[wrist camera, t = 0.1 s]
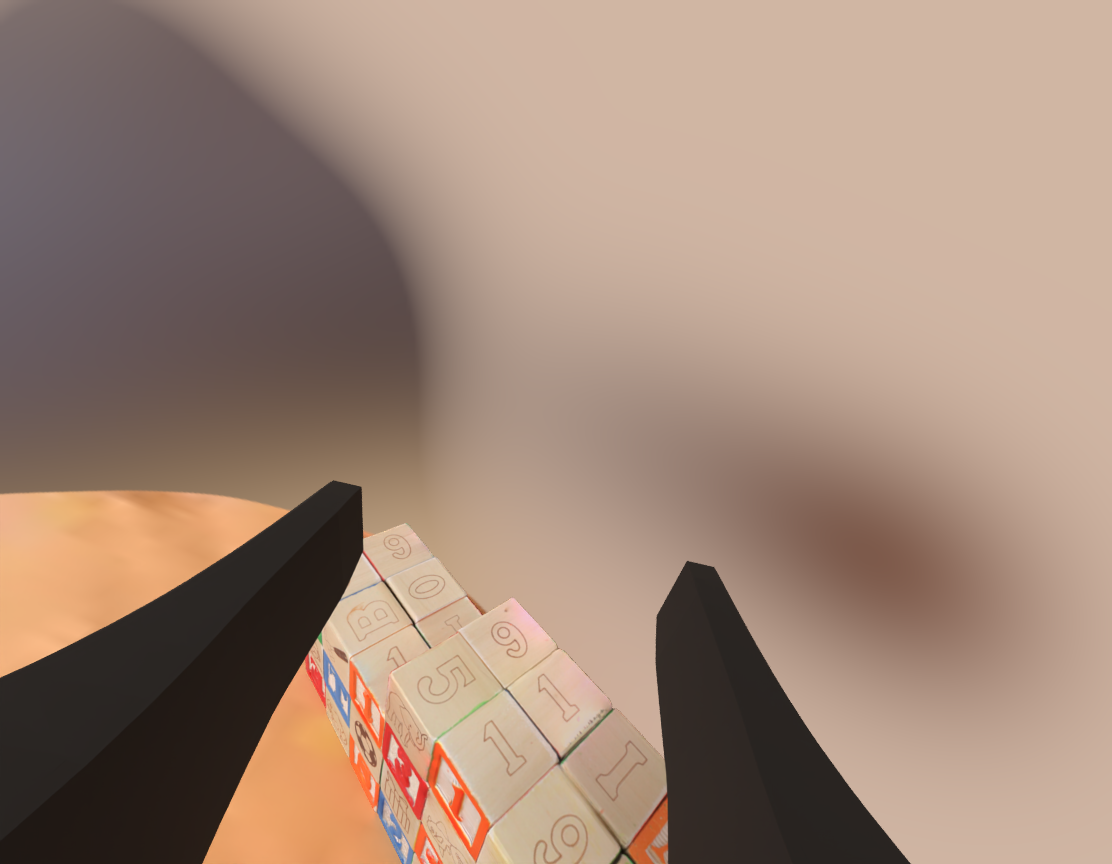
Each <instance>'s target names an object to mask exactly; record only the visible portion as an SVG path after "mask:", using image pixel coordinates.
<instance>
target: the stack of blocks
mask: <svg viewBox="0 0 1112 864" xmlns="http://www.w3.org/2000/svg"><path fill="white" fill-rule="evenodd" d="M363 548H364V550H363V553H362V555H361V557H360V559H359V562H358V564H357V566H356V569H355V571H354V573H353V575H352V577H351V580H350V582H349V584H348V586H347V588H346V590H345V592H344V594H343V596H342V598H341V599H340V601H339V603H338V605H337V606H336V608H335V610H334V611H333V613H332V615H331V616H330V618H329V620H328V621H327V623H326V625H325V626H324V628H323V630H322V631H321V633H320V635H319V636H318V638H317V640H316V641H315V643H314V645H313V646H312V648H311V650H310V651H309V653H308V655H307V656H306V658H305V663H306V671H307V673H308V675H309V677H310V678H311V680H312V682H313V684H314V686H315V688H316V690H317V692H318V694H319V696H320V698H321V700H322V702H323V703H324V705H325V708H326V711H327V716H328V718H329V720H330V722H331V724H332V726H333V728H334V730H335V732H336V734H337V736H338V738H339V740H340V742H341V744H342V746H343V748H344V750H345V752H346V754H347V756H348V757H349V758H350V762H351V764H352V766H353V769H354V771H355V773H356V775H357V777H358V779H359V781H360V783H361V785H362V787H363V789H364V791H365V793H366V795H367V797H368V799H369V801H370V803H371V805H372V808H373V810H374V811H375V812H377V813H378V814H379V817H380V819H381V821H382V824H383V826H384V828H385V829H386V831H387V833H388V835H389V838H390V840H391V842H392V844H393V846H394V848H395V850H396V852H397V854H398V856H399V858H400V860H401V862H402V864H668V799H667V782H666V768H665V760H664V759H663V757H662V756H661V755H660V754H659V753H658V752H657V751H656V750H655V749H654V748H653V747H652V746H651V745H650V743H649V742H648V741H647V740H646V739H645V738H644V737H643V736H642V735H641V734H640V733H639V731H638V730H637V729H636V728H635V727H634V726H633V725H632V724H631V723H630V722H629V721H628V720H627V719H626V718H625V716H624V715H623V714H622V713H621V712H620V711H619V710H617V709H613V708H612V704H611V701H610V700H609V698H608V697H607V696H606V695H605V694H604V693H603V692H602V690H601V689H600V688H599V687H598V686H597V685H596V684H595V683H594V682H593V681H592V680H591V679H590V678H589V677H588V676H587V674H586V673H585V672H584V671H583V670H582V669H581V668H580V667H579V666H578V665H577V664H576V663H575V662H574V661H573V660H572V658H571V657H570V656H569V655H568V654H567V653H566V652H565V651H563V650H562V649H559V648H558V647H557V644H556V643H555V641H554V640H553V639H552V638H551V637H550V636H549V635H548V634H547V633H546V632H545V631H544V630H543V628H542V627H541V626H540V625H539V624H538V623H537V622H536V621H535V620H534V619H533V618H532V617H531V615H530V614H529V613H528V612H527V611H526V610H525V609H524V608H523V607H522V606H521V605H520V604H519V603H518V602H517V601H516V599H515V598H513V597H512V598H510V599H508V600H507V601H505V602H504V603H502V604H500V605H499V606H497V607H496V608H494V609H492V610H491V611H489V612H487V613H486V614H484V615H482V613H481V612H480V611H479V610H478V608H477V607H476V606H475V605H474V604H473V602H472V601H471V600H470V599H469V598H468V596H467V593H466V592H465V590H464V589H463V588H462V587H461V585H460V584H459V583H458V582H457V581H456V579H455V578H454V577H453V576H452V575H451V573H450V572H449V571H448V570H447V569H446V567H445V566H444V565H443V564H442V563H441V562H440V560H439V559H438V558H437V557H434V556H433V555H432V553H431V552H430V550H429V549H428V548H427V547H426V546H425V544H424V543H423V542H422V541H421V539H420V538H419V537H418V535H417V534H416V533H415V532H414V531H413V530H412V528H411V527H410V526H409V525H408V524H407V523H405V524H402V525H399V526H397V527H394V528H391V529H389V530H386V531H384V532H381V533H378V534H375V535H373V536H370V537H367V538H364V539H363Z"/></svg>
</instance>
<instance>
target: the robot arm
mask: <svg viewBox="0 0 1112 864" xmlns="http://www.w3.org/2000/svg"><path fill="white" fill-rule="evenodd" d="M362 522H363V518H362V489H361V487H360V486H355V485H351V484H347V483H342V482H337V481H332V482H330V483H328V484H327V485H326V486H324V487H323V488H321V489H320V490H319V491H317V492H316V493H315V494H313V495H312V496H311V497H309V498H308V499H307V500H305V501H304V502H303V503H301V504H300V505H298V506H297V507H296V508H294V509H293V510H292V511H290V512H289V513H287V514H286V515H285V516H283V517H282V518H280V519H279V520H278V521H276V522H275V523H274V524H272V525H271V526H269V527H268V528H266V529H265V530H263V531H262V532H261V533H259V534H258V535H256V536H255V537H253V538H252V539H250V540H249V541H248V542H246V543H245V544H243V545H242V546H240V547H239V548H237V549H236V550H234V551H233V552H231V553H230V554H228V555H227V556H225V557H224V558H222V559H220V560H219V561H217V562H216V563H214V564H213V565H211V566H209V567H208V568H206V569H205V570H203V571H202V572H200V573H198V574H197V575H195V576H194V577H192V578H191V579H189V580H187V581H186V582H184V583H182V584H181V585H179V586H177V587H176V588H174V589H172V590H171V591H169V592H167V593H166V594H164V595H162V596H160V597H159V598H157V599H155V600H154V601H152V602H150V603H148V604H146V605H145V606H143V607H141V608H139V609H137V610H136V611H134V612H132V613H130V614H128V615H127V616H125V617H123V618H121V619H119V620H117V621H116V622H114V623H112V624H110V625H108V626H106V627H104V628H102V629H100V630H98V631H96V632H94V633H92V634H90V635H88V636H86V637H84V638H82V639H81V640H79V641H77V642H75V643H73V644H71V645H69V646H67V647H65V648H63V649H61V650H59V651H57V652H55V653H53V654H51V655H48V656H46V657H44V658H42V659H40V660H38V661H36V662H34V663H32V664H30V665H28V666H25V667H23V668H21V669H19V670H16V671H14V672H12V673H10V674H8V675H5V676H3V677H1V678H0V864H202V863H203V861H204V858H205V856H206V854H207V852H208V850H209V847H210V845H211V843H212V841H213V838H214V836H215V834H216V832H217V829H218V827H219V825H220V823H221V821H222V818H223V816H224V814H225V812H226V810H227V808H228V806H229V804H230V801H231V799H232V797H233V795H234V793H235V791H236V789H237V787H238V784H239V782H240V780H241V778H242V776H243V774H244V772H245V769H246V767H247V765H248V763H249V761H250V759H251V757H252V755H253V753H254V751H255V749H256V747H257V745H258V743H259V741H260V739H261V737H262V735H263V733H264V731H265V729H266V726H267V724H268V722H269V720H270V718H271V716H272V714H273V713H274V711H275V709H276V707H277V705H278V704H279V702H280V700H281V698H282V696H283V695H284V693H285V691H286V689H287V688H288V686H289V684H290V683H291V681H292V679H293V678H294V676H295V674H296V673H297V671H298V670H299V668H300V666H301V665H302V663H303V661H304V660H305V658H306V656H307V655H308V653H309V651H310V650H311V648H312V646H313V645H314V643H315V641H316V640H317V638H318V636H319V635H320V633H321V631H322V630H323V628H324V626H325V625H326V623H327V621H328V620H329V618H330V616H331V615H332V613H333V611H334V610H335V608H336V606H337V605H338V603H339V601H340V599H341V598H342V596H343V594H344V592H345V590H346V588H347V586H348V584H349V582H350V580H351V577H352V575H353V573H354V571H355V569H356V566H357V564H358V562H359V559H360V557H361V555H362V553H363V550H364V548H363V523H362ZM656 673H657V684H658V695H659V706H660V715H661V727H662V737H663V747H664V758H665V768H666V782H667V799H668V864H910V862H909V861H908V860H907V859H906V858H905V856H904V855H903V854H902V853H901V851H900V850H899V849H898V848H897V846H896V845H895V844H894V843H893V842H892V840H891V839H890V838H889V837H888V835H887V834H886V833H885V832H884V830H883V829H882V828H881V827H880V825H879V824H878V823H877V822H876V820H875V819H874V818H873V817H872V815H871V814H870V813H869V812H868V810H867V809H866V808H865V807H864V805H863V804H862V803H861V801H860V800H859V799H858V797H857V796H856V795H855V794H854V792H853V791H852V790H851V788H850V787H849V786H848V784H847V783H846V782H845V780H844V779H843V777H842V776H841V775H840V773H839V772H838V771H837V769H836V768H835V767H834V765H833V764H832V762H831V761H830V759H829V758H828V757H827V755H826V754H825V752H824V751H823V750H822V748H821V747H820V746H819V744H818V743H817V741H816V740H815V738H814V737H813V736H812V734H811V732H810V731H809V729H808V728H807V726H806V725H805V724H804V722H803V720H802V719H801V717H800V716H799V714H798V713H797V711H796V709H795V708H794V706H793V705H792V703H791V702H790V700H789V699H788V697H787V695H786V694H785V692H784V690H783V689H782V688H781V686H780V684H779V682H778V681H777V679H776V677H775V676H774V674H773V673H772V671H771V669H770V667H769V666H768V664H767V662H766V660H765V659H764V657H763V655H762V653H761V652H760V650H759V648H758V647H757V645H756V643H755V641H754V640H753V638H752V636H751V634H750V632H749V631H748V629H747V627H746V626H745V623H744V621H743V620H742V618H741V616H740V614H739V612H738V610H737V609H736V607H735V605H734V603H733V601H732V599H731V597H730V595H729V594H728V592H727V590H726V588H725V586H724V584H723V582H722V581H721V579H720V577H719V575H718V573H717V571H716V570H715V568H714V567H711V566H707V565H702V564H698V563H693V562H689V561H687V562H686V564H685V566H684V567H683V569H682V571H681V573H680V575H679V576H678V578H677V580H676V582H675V584H674V586H673V587H672V589H671V591H670V593H669V595H668V596H667V598H666V600H665V602H664V604H663V606H662V607H661V609H660V611H659V613H658V615H657V624H656Z"/></svg>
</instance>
